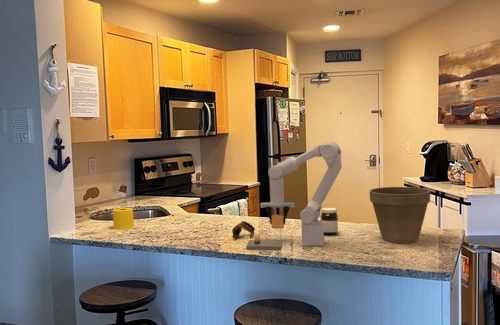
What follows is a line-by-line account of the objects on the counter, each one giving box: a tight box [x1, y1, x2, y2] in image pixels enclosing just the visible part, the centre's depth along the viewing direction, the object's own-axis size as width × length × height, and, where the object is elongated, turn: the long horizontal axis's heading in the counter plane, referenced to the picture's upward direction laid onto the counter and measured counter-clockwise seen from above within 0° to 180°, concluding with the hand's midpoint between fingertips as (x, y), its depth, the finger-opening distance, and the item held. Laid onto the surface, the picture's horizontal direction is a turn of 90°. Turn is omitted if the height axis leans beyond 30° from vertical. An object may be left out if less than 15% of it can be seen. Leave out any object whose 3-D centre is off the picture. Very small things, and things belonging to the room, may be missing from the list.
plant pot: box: [368, 186, 431, 244], centre depth 196 cm, size 25×25×22 cm
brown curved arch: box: [231, 220, 256, 239], centre depth 207 cm, size 12×10×8 cm
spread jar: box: [317, 207, 339, 237], centre depth 211 cm, size 12×11×12 cm
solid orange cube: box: [271, 214, 285, 229], centre depth 199 cm, size 5×5×5 cm
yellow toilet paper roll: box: [112, 207, 135, 231], centre depth 234 cm, size 10×10×9 cm
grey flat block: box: [245, 233, 283, 251], centre depth 190 cm, size 14×10×5 cm
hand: (277, 223), depth 199 cm, fingers closed on solid orange cube, 5 cm apart
